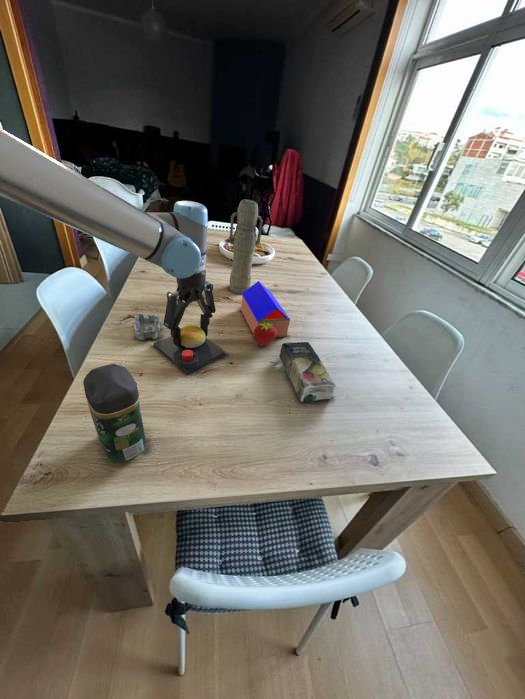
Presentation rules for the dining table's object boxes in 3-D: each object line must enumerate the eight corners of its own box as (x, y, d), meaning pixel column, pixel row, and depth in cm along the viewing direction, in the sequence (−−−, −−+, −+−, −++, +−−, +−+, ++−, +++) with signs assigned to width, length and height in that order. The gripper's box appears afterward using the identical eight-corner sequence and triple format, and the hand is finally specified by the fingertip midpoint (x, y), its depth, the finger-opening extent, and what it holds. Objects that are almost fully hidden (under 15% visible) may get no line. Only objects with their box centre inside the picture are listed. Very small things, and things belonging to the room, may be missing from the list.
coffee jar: (95, 435, 61) (75, 368, 50) (134, 419, 65) (123, 354, 54) (110, 471, 55) (90, 404, 44) (151, 452, 60) (143, 386, 49)
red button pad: (152, 346, 87) (151, 338, 85) (192, 331, 96) (192, 323, 94) (185, 375, 79) (185, 366, 77) (225, 355, 89) (225, 347, 87)
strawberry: (276, 351, 94) (282, 325, 88) (253, 351, 92) (257, 325, 86) (271, 340, 99) (276, 314, 93) (249, 340, 96) (253, 314, 91)
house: (254, 338, 98) (259, 308, 91) (239, 309, 113) (243, 280, 106) (287, 336, 102) (294, 307, 95) (268, 308, 117) (273, 280, 110)
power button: (179, 357, 81) (179, 352, 80) (188, 353, 83) (188, 348, 82) (186, 362, 79) (186, 357, 78) (195, 358, 81) (195, 353, 80)
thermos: (255, 294, 125) (268, 205, 104) (227, 293, 121) (235, 201, 101) (250, 285, 131) (261, 200, 111) (224, 284, 128) (231, 196, 107)
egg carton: (135, 322, 95) (134, 311, 93) (160, 321, 98) (159, 311, 95) (134, 341, 87) (132, 329, 85) (160, 340, 90) (160, 328, 87)
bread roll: (174, 348, 85) (174, 336, 82) (179, 331, 92) (179, 320, 89) (203, 350, 86) (204, 339, 83) (206, 333, 93) (206, 322, 90)
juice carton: (334, 401, 79) (340, 385, 76) (301, 405, 76) (306, 388, 73) (306, 356, 94) (310, 340, 91) (277, 358, 91) (280, 342, 88)
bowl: (284, 261, 164) (286, 247, 159) (245, 270, 144) (247, 254, 140) (247, 244, 178) (248, 230, 174) (207, 250, 159) (208, 235, 154)
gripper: (162, 283, 66) (166, 359, 80) (231, 266, 81) (225, 333, 94) (144, 271, 70) (151, 346, 83) (214, 256, 84) (210, 322, 98)
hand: (190, 339), depth 89 cm, fingers closed on bread roll, 9 cm apart
